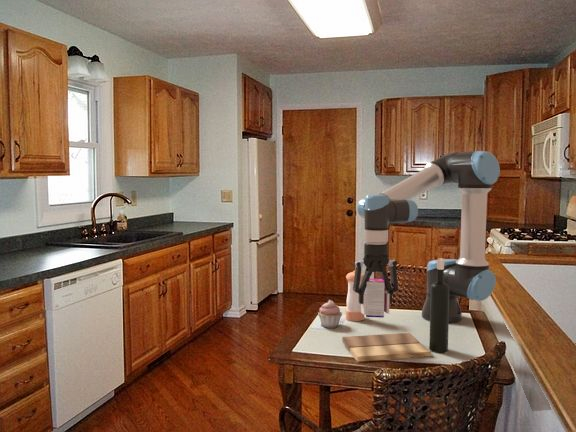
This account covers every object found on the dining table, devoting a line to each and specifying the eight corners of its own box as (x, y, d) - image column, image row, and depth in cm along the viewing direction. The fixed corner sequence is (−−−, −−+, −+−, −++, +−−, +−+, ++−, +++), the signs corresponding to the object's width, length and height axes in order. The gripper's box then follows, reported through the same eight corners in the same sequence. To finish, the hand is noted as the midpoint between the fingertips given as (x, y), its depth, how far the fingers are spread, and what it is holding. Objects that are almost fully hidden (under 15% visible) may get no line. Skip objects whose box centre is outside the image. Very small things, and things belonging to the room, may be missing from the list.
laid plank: (420, 347, 169) (420, 343, 169) (431, 356, 161) (431, 351, 161) (349, 352, 165) (349, 347, 165) (357, 361, 157) (357, 356, 157)
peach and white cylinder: (367, 317, 204) (367, 270, 202) (359, 322, 198) (359, 273, 196) (350, 315, 208) (350, 268, 206) (342, 319, 202) (342, 271, 200)
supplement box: (384, 317, 164) (384, 282, 163) (365, 317, 165) (365, 282, 164) (384, 312, 169) (384, 278, 168) (366, 312, 171) (366, 278, 169)
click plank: (349, 351, 166) (349, 346, 165) (342, 341, 174) (342, 336, 173) (419, 346, 170) (419, 342, 170) (409, 337, 178) (409, 332, 177)
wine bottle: (451, 352, 165) (453, 259, 163) (435, 353, 164) (437, 260, 161) (441, 346, 171) (443, 256, 168) (425, 347, 169) (427, 257, 166)
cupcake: (320, 321, 200) (320, 295, 199) (344, 323, 197) (344, 297, 196) (314, 328, 191) (314, 301, 190) (339, 330, 188) (339, 303, 187)
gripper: (401, 240, 170) (399, 308, 172) (342, 241, 167) (342, 311, 169) (410, 243, 163) (408, 314, 165) (349, 245, 160) (348, 317, 162)
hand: (375, 312), depth 167 cm, fingers closed on supplement box, 7 cm apart
